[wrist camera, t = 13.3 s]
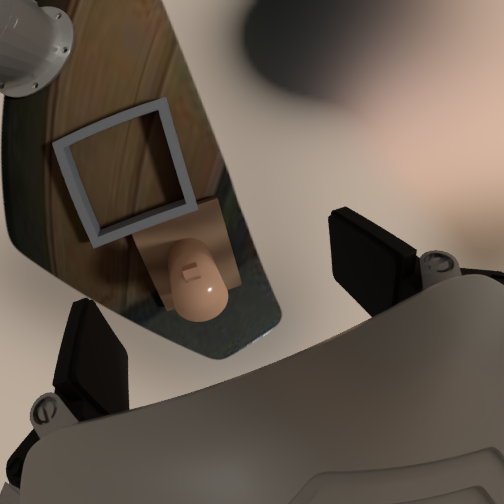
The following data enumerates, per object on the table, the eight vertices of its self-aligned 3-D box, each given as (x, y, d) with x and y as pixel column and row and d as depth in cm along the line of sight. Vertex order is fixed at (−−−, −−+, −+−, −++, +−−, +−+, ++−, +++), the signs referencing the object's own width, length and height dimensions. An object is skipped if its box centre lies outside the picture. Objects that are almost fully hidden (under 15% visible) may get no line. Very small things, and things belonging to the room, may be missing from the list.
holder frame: (58, 141, 28) (52, 143, 26) (165, 98, 31) (165, 96, 28) (96, 240, 36) (93, 248, 33) (195, 203, 38) (198, 209, 36)
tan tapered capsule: (201, 225, 38) (217, 259, 30) (218, 280, 43) (237, 323, 34) (158, 239, 37) (161, 278, 29) (179, 294, 42) (189, 340, 33)
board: (130, 225, 36) (129, 229, 35) (215, 195, 38) (217, 198, 37) (166, 306, 43) (167, 311, 42) (239, 280, 45) (242, 284, 44)
